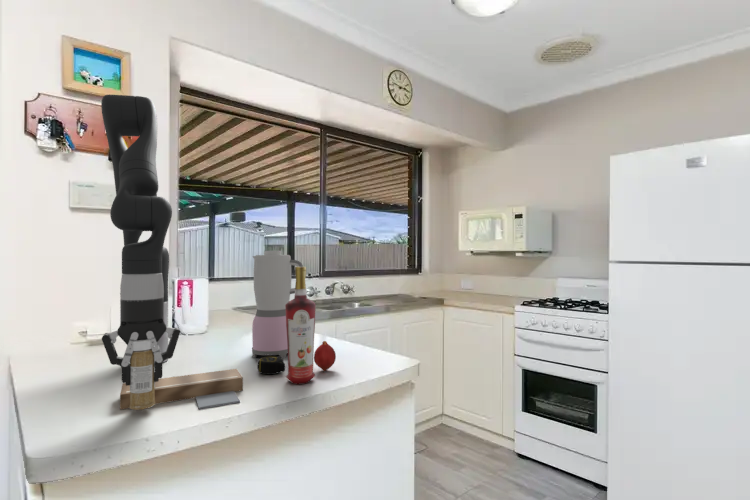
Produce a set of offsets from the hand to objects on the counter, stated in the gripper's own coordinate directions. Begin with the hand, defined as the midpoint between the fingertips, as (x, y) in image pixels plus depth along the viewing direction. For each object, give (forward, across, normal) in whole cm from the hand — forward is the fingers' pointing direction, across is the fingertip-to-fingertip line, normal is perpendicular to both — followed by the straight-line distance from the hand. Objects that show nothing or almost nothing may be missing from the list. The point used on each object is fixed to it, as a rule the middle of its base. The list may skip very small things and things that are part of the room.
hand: (142, 382), depth 83 cm
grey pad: (+6, +14, 0) cm, 15 cm away
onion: (+6, +42, +10) cm, 44 cm away
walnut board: (+6, +8, +8) cm, 13 cm away
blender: (+6, +36, +33) cm, 49 cm away
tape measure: (+6, +30, +15) cm, 34 cm away
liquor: (+6, +34, +4) cm, 35 cm away
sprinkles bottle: (+5, 0, 0) cm, 5 cm away
